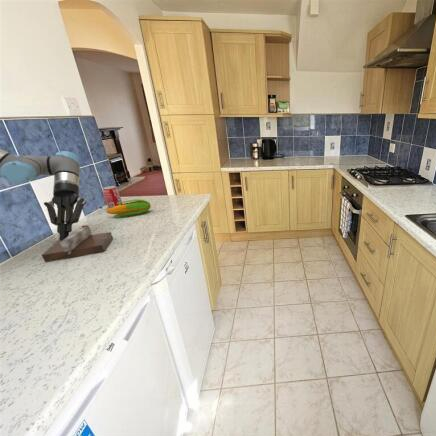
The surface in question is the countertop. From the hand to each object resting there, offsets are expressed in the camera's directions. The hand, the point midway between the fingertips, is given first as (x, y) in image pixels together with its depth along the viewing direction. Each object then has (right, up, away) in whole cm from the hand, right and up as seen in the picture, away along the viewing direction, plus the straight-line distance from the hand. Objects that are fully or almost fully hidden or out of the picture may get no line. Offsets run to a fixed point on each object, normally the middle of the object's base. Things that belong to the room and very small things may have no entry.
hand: (64, 240), depth 91 cm
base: (+3, -4, +4) cm, 6 cm away
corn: (+1, +10, +37) cm, 38 cm away
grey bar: (+3, -1, +3) cm, 4 cm away
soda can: (-14, +14, +47) cm, 51 cm away
